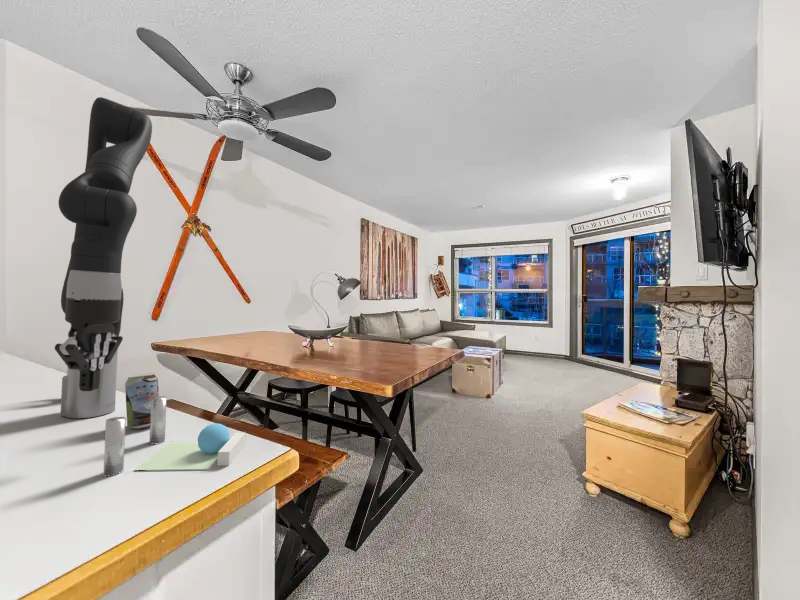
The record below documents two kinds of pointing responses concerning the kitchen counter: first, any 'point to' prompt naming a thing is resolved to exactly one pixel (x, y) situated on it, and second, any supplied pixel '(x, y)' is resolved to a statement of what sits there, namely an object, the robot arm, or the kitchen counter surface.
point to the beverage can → (140, 399)
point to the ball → (213, 438)
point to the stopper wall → (231, 449)
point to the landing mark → (179, 458)
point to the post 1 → (114, 445)
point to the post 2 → (158, 419)
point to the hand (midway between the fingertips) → (89, 389)
